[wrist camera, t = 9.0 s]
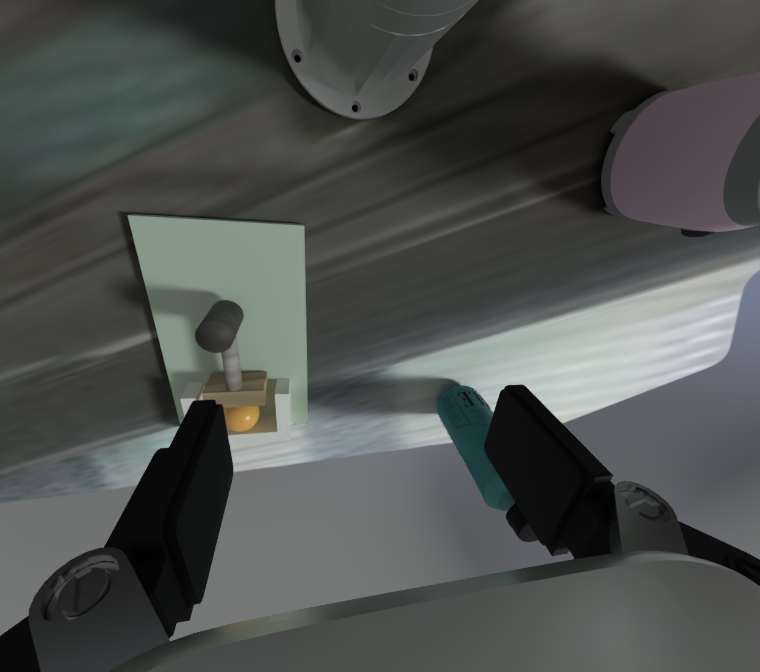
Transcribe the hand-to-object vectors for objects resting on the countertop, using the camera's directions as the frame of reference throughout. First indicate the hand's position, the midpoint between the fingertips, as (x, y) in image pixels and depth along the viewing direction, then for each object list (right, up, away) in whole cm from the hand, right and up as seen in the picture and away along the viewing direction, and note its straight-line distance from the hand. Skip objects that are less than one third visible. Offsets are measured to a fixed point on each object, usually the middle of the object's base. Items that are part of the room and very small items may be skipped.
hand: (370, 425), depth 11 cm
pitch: (-16, +3, +25) cm, 30 cm away
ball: (-16, -6, +27) cm, 31 cm away
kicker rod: (-15, +2, +24) cm, 29 cm away
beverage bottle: (+11, -5, +36) cm, 38 cm away
